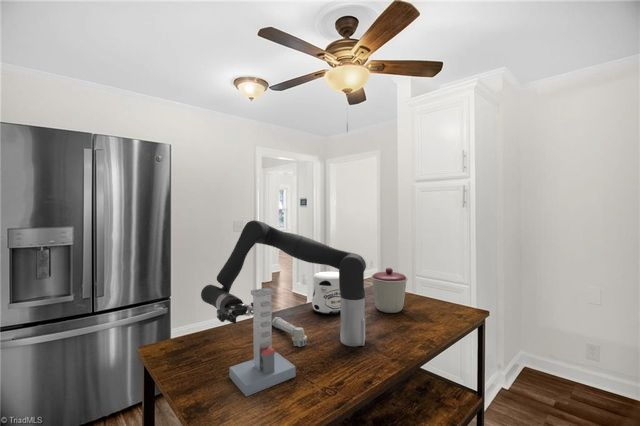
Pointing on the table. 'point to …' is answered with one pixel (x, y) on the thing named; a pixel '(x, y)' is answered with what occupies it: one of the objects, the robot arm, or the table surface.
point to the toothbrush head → (291, 331)
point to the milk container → (326, 293)
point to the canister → (389, 290)
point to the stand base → (262, 373)
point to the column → (261, 324)
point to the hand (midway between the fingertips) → (247, 317)
